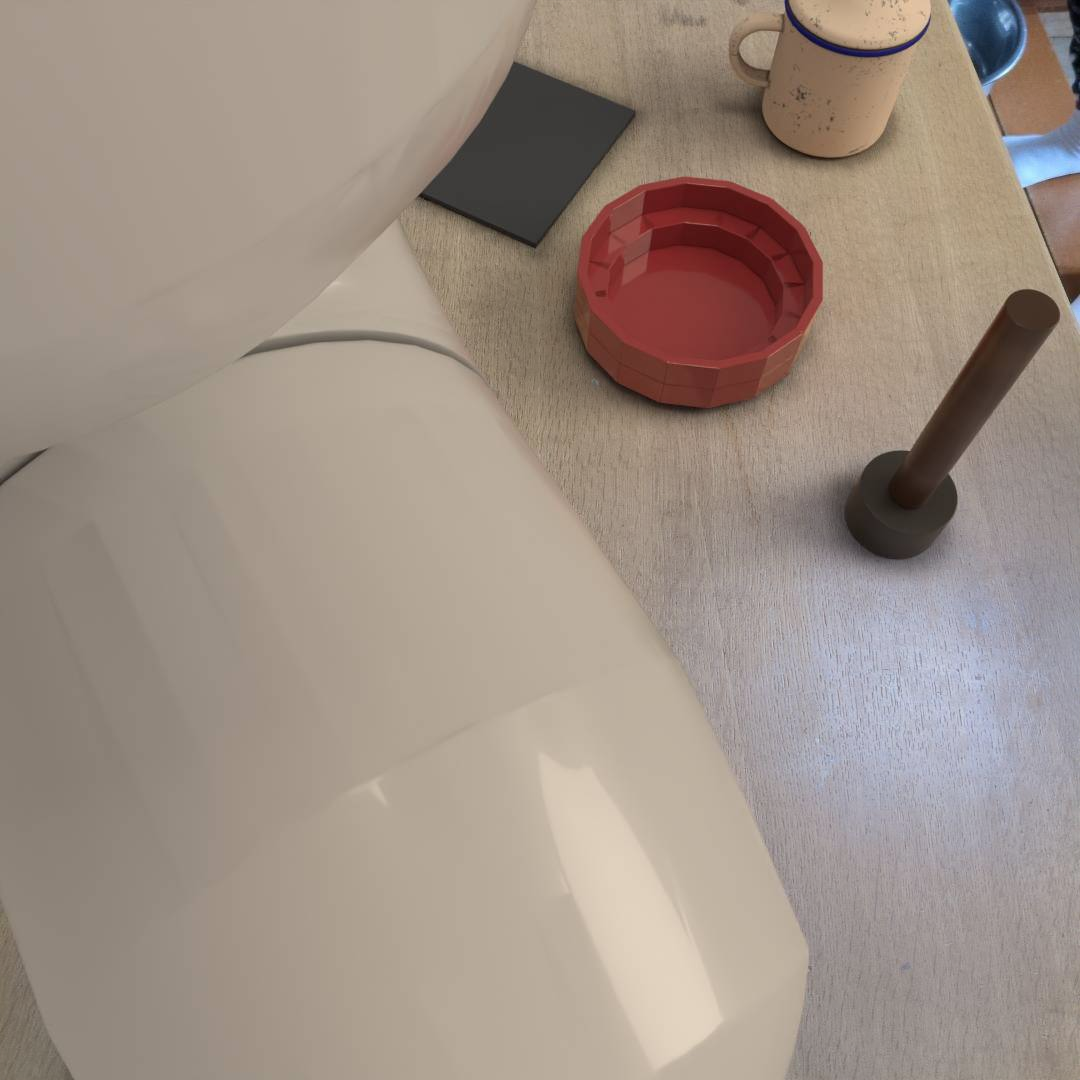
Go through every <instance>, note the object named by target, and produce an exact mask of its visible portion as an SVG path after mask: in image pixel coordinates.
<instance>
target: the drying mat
mask: <svg viewBox="0 0 1080 1080" xmlns="http://www.w3.org/2000/svg"><path fill="white" fill-rule="evenodd" d="M636 113H637V112H636V110H635V109H633V108H630V107H628V106H625V105H623V104H620V103H618V102H615V101H613V100H611V99H608V98H605V97H603V96H600V95H599V94H596V93H594V92H591V91H588V90H587V89H583V88H581V87H579V86H576V85H573V84H571V83H569V82H566V81H564V80H561V79H560V78H559V79H558V78H557V77H554V76H551V75H549V74H546V73H544V72H541V71H539V70H537V69H534V68H532V67H529V66H526V65H524V64H522V63H519V62H517V61H514V62H513V64H512V66H511V68H510V71H509V73H508V75H507V77H506V79H505V81H504V82H503V84H502V86H501V87H500V89H499V91H498V92H497V94H496V96H495V97H494V99H493V101H492V102H491V104H490V106H489V107H488V109H487V111H486V113H485V114H484V116H483V118H482V119H481V121H480V122H479V124H478V125H477V126H476V128H475V129H474V130H473V132H472V133H471V134H470V136H469V137H468V138H467V140H466V141H465V142H464V144H463V145H462V146H461V148H460V149H459V150H458V152H457V153H456V154H455V155H454V157H453V158H452V159H451V161H450V162H449V163H448V164H447V165H446V166H445V167H444V168H443V170H442V171H441V172H440V173H439V174H438V175H437V176H436V177H435V178H434V179H433V180H432V181H431V182H430V183H429V184H428V186H427V187H426V188H425V189H424V190H423V191H422V192H421V193H420V194H419V195H418V197H422V198H424V199H426V200H428V201H430V202H433V203H435V204H438V205H440V206H441V207H444V208H445V209H449V210H451V211H453V212H455V213H457V214H460V215H462V216H464V217H466V218H469V219H472V221H475V222H478V223H479V224H482V225H484V226H487V227H489V228H491V229H493V230H495V231H498V232H500V233H501V234H504V235H506V236H509V237H511V238H513V239H515V240H517V241H520V242H522V243H525V244H527V245H529V246H531V247H534V248H537V247H538V246H539V244H540V243H541V241H542V240H543V239H544V238H545V236H546V235H547V233H548V232H549V231H550V229H551V228H552V227H553V225H554V224H555V223H556V222H557V220H558V219H559V218H560V216H561V215H562V213H563V212H564V211H565V209H566V208H567V207H568V205H569V204H570V203H571V202H572V200H573V199H574V198H575V196H576V195H577V194H578V192H579V191H580V190H581V188H582V187H583V185H584V184H585V183H586V182H587V180H588V179H589V178H590V176H591V175H592V174H593V172H595V170H596V168H597V167H598V165H599V164H600V163H601V162H602V160H603V159H604V158H605V156H607V154H608V152H609V151H610V150H611V148H612V147H613V145H614V144H615V143H616V141H617V140H618V139H619V138H620V137H621V135H622V133H623V132H625V130H626V129H627V127H628V125H629V124H630V123H631V122H632V121H633V119H634V118H635V117H636Z"/></svg>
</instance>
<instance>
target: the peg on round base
mask: <svg viewBox="0 0 1080 1080" xmlns="http://www.w3.org/2000/svg"><path fill="white" fill-rule="evenodd" d="M1060 320H1061V310H1060V308H1059V305H1058V304H1057V303H1056V300H1054V299H1053V298H1052V297H1050V296H1049V295H1048V294H1047V293H1045V292H1043V291H1040V290H1036V289H1032V288H1022V289H1019V290H1015V291H1014V292H1012V293H1010V294H1009V295H1008V297H1006V300H1005V301H1004V303H1003V304H1002V305H1001V307H1000V309H999V310H998V311H997V314H996V315H995V316H994V318H993V319H992V321H991V323H990V324H989V326H988V328H987V329H986V331H985V333H984V334H983V335H982V337H981V338H980V340H979V342H978V343H977V345H976V347H975V348H974V350H973V351H972V353H971V354H970V355H969V358H968V359H967V361H966V362H965V364H964V365H963V367H962V369H961V370H960V371H959V373H958V374H957V376H956V378H955V379H954V381H953V382H952V384H951V386H950V387H949V389H948V390H947V392H946V393H945V395H944V397H943V398H942V399H941V401H940V402H939V404H938V406H937V408H936V410H934V412H933V414H932V415H931V417H930V419H929V420H928V421H927V423H926V425H925V426H924V428H923V430H922V431H921V432H920V433H919V436H918V437H917V438H916V440H915V442H914V443H913V445H912V447H911V448H910V450H905V449H900V450H899V449H898V450H890V451H887V452H882V453H881V454H879V455H877V456H875V457H874V458H872V459H871V460H870V461H869V462H868V464H867V465H866V466H865V467H864V469H863V471H862V473H861V474H860V475H859V477H858V479H857V481H856V483H855V485H854V486H853V488H852V489H851V491H850V493H849V495H848V497H847V499H846V502H845V505H844V507H845V509H844V514H845V515H844V516H845V521H846V524H847V527H848V529H849V531H850V533H851V534H852V536H853V537H854V538H855V539H856V540H857V542H858V543H859V544H860V545H861V546H863V547H864V548H865V549H867V550H868V551H870V552H871V553H874V554H876V555H878V556H881V557H884V558H887V559H897V560H901V559H903V560H904V559H909V558H913V557H917V556H918V555H920V554H922V553H924V552H925V551H927V550H928V549H929V548H930V547H931V546H932V545H933V543H934V542H935V540H937V538H938V537H939V536H940V535H941V533H942V532H943V531H944V529H946V527H947V526H948V524H949V523H950V522H951V521H952V519H953V518H954V516H955V515H956V512H957V510H958V509H957V508H958V503H959V502H958V501H959V497H958V490H957V487H956V484H955V482H954V479H953V478H952V477H951V475H950V472H951V471H952V469H953V468H954V467H955V465H956V464H957V462H958V461H959V460H960V459H961V457H962V456H963V454H964V453H965V452H966V450H967V449H968V447H970V445H971V444H972V442H973V441H974V439H975V438H976V436H977V435H978V434H979V433H980V431H981V430H982V428H983V427H984V426H985V425H986V423H987V422H988V420H989V419H990V417H991V416H992V415H993V413H994V412H995V410H997V408H998V406H999V405H1000V404H1001V403H1002V401H1003V399H1005V398H1006V396H1007V394H1008V393H1009V392H1010V391H1011V389H1012V388H1013V386H1014V385H1015V383H1016V382H1017V381H1018V379H1019V378H1020V376H1021V375H1022V374H1023V372H1024V371H1025V370H1026V368H1027V367H1028V365H1029V364H1030V363H1031V361H1032V360H1033V359H1034V357H1035V356H1036V354H1037V353H1038V352H1039V351H1040V349H1041V347H1042V346H1043V344H1044V343H1046V341H1047V340H1048V338H1049V337H1050V336H1051V334H1052V333H1053V331H1054V330H1055V328H1056V327H1057V326H1058V325H1059V323H1060Z"/></svg>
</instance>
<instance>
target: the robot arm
mask: <svg viewBox="0 0 1080 1080" xmlns="http://www.w3.org/2000/svg"><path fill="white" fill-rule="evenodd" d="M537 2H538V0H0V901H1V905H2V908H3V910H4V913H5V915H6V919H7V921H8V925H9V927H10V930H11V932H12V936H13V938H14V941H15V944H16V948H17V950H18V954H19V956H20V959H21V962H22V965H23V968H24V970H25V973H26V976H27V979H28V982H29V984H30V988H31V990H32V992H33V996H34V999H35V1002H36V1004H37V1007H38V1011H39V1013H40V1016H41V1018H42V1021H43V1025H44V1027H45V1030H46V1033H47V1034H48V1036H49V1038H50V1041H52V1043H53V1045H54V1047H55V1048H56V1050H57V1052H58V1053H59V1054H58V1055H60V1058H61V1060H62V1061H63V1063H64V1064H65V1067H66V1068H67V1070H68V1071H69V1073H70V1074H71V1077H72V1078H73V1080H785V1078H786V1076H787V1073H788V1070H789V1067H790V1064H791V1061H792V1059H793V1056H794V1052H795V1048H796V1043H797V1038H798V1034H799V1029H800V1026H801V1020H802V1015H803V1011H804V1006H805V999H806V990H807V981H808V973H809V972H808V971H809V964H810V948H809V946H808V943H807V940H806V938H805V936H804V933H803V931H802V929H801V926H800V924H799V921H798V919H797V917H796V915H795V912H794V909H793V907H792V905H791V903H790V900H789V897H788V895H787V892H786V890H785V889H784V886H783V884H782V881H781V878H780V876H779V873H778V871H777V869H776V867H775V865H774V863H773V860H772V857H771V854H770V853H769V850H768V848H767V846H766V844H765V841H764V838H763V836H762V834H761V831H760V829H759V826H758V824H757V822H756V819H755V817H754V814H753V813H752V810H751V807H750V805H749V803H748V800H747V798H746V796H745V793H744V791H743V789H742V787H741V785H740V783H739V781H738V778H737V776H736V774H735V772H734V770H733V767H732V765H731V764H730V761H729V759H728V755H726V752H725V750H724V748H723V745H722V744H721V741H720V739H719V737H718V735H717V732H716V731H715V729H714V726H713V724H712V722H711V720H710V718H709V715H708V714H707V712H706V710H705V708H704V706H703V704H702V702H701V700H700V697H699V696H698V694H697V692H696V689H695V687H694V685H693V683H692V681H691V679H690V677H689V675H688V673H687V671H686V669H685V667H684V665H683V663H682V661H681V660H680V658H679V657H678V655H677V654H676V652H675V651H674V650H673V648H672V647H671V645H670V644H669V642H668V641H667V640H666V638H665V637H664V635H663V634H662V632H661V631H660V629H659V628H658V626H657V625H656V624H655V623H654V621H653V620H652V618H651V617H650V615H649V613H648V612H647V611H646V609H645V608H644V607H643V605H642V604H641V602H640V601H639V600H638V598H637V597H636V595H635V594H634V592H633V591H632V590H631V588H630V587H629V585H628V584H627V582H626V581H625V579H624V578H623V577H622V575H621V574H620V572H619V571H618V570H617V568H616V566H615V565H614V563H613V562H612V560H610V558H609V557H608V555H607V554H606V552H605V551H604V550H603V548H602V547H601V545H600V544H599V542H598V540H596V538H595V536H594V535H593V534H592V532H591V531H590V529H589V528H588V526H587V525H586V524H585V522H584V521H583V519H582V518H581V517H580V515H579V514H578V512H577V511H576V509H575V508H574V506H573V505H572V503H571V501H569V498H567V496H566V495H565V494H564V492H563V491H562V489H561V488H560V486H559V484H557V482H556V480H555V479H554V478H553V476H552V474H551V473H550V472H549V470H548V469H547V468H546V466H545V465H544V463H543V462H542V461H541V459H540V457H539V456H538V455H537V453H536V452H535V450H534V449H533V447H532V446H531V445H530V443H529V442H528V440H527V438H526V437H525V436H524V434H523V433H522V432H521V430H520V429H519V427H518V426H517V424H516V423H515V422H514V420H513V419H512V417H511V416H510V415H509V413H508V412H507V410H506V408H505V407H504V406H503V404H502V403H501V401H500V400H499V399H498V397H497V396H496V394H495V391H494V389H493V388H492V386H491V384H490V382H488V379H487V378H486V377H485V375H484V374H483V372H482V371H481V369H480V368H479V365H477V363H476V361H475V360H474V359H473V357H472V356H471V355H470V353H469V351H468V349H467V348H466V346H465V344H464V342H463V340H462V339H461V337H460V336H459V334H458V333H457V331H456V329H455V326H453V324H452V322H451V320H450V318H449V316H448V314H447V312H446V310H445V309H444V307H443V305H442V303H441V301H440V299H439V297H438V295H437V294H436V292H435V290H434V287H433V286H432V283H431V282H430V280H429V278H428V276H427V274H426V272H425V270H424V268H423V266H422V264H421V262H420V261H419V258H418V257H417V255H416V252H415V250H414V248H413V246H412V244H411V242H410V239H409V238H408V234H407V232H406V230H405V228H404V225H403V222H402V220H401V218H400V216H401V214H402V213H404V211H405V210H407V209H408V207H409V206H410V205H411V204H412V203H413V202H414V201H415V200H416V199H417V197H419V194H420V193H421V192H422V191H423V190H424V189H425V188H426V187H427V186H428V184H429V183H430V182H431V181H432V180H433V179H434V178H435V177H436V176H437V175H438V174H439V173H440V172H441V171H442V170H443V168H444V167H445V166H446V165H447V164H448V163H449V162H450V161H451V159H452V158H453V157H454V155H455V154H456V153H457V152H458V150H459V149H460V148H461V146H462V145H463V144H464V142H465V141H466V140H467V138H468V137H469V136H470V134H471V133H472V132H473V130H474V129H475V128H476V126H477V125H478V124H479V122H480V121H481V119H482V118H483V116H484V114H485V113H486V111H487V109H488V107H489V106H490V104H491V102H492V101H493V99H494V97H495V96H496V94H497V92H498V91H499V89H500V87H501V86H502V84H503V82H504V81H505V79H506V77H507V75H508V73H509V71H510V68H511V66H512V64H513V62H515V59H516V57H517V55H518V53H519V50H520V48H521V46H522V43H523V42H524V39H525V37H526V35H527V33H528V30H529V28H530V25H531V22H532V19H533V15H534V12H535V8H536V6H537Z"/></svg>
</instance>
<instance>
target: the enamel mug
mask: <svg viewBox="0 0 1080 1080" xmlns="http://www.w3.org/2000/svg"><path fill="white" fill-rule="evenodd" d="M931 18H932V3H931V0H784V13H779V12H778V13H777V12H758V13H753V14H750V15H748V16H746V17H745V18H743V19H741V20H740V21H739V22H738V23H736V25H735V26H734V28H732V31H731V33H730V36H729V39H728V40H729V41H728V59H729V64H730V66H731V67H732V70H733V72H734V74H735V75H736V76H737V77H738V78H739V79H740V80H742V81H743V82H744V83H747V84H749V85H751V86H757V87H762V88H765V90H764V93H763V98H762V103H761V104H762V105H761V108H762V114H763V115H762V116H763V118H764V121H765V123H766V125H767V127H768V128H769V130H770V131H771V133H772V134H773V135H774V136H775V137H776V138H777V139H779V141H781V142H782V143H783V144H785V145H786V146H787V147H790V148H792V149H793V150H795V151H798V152H800V153H803V154H806V155H810V156H812V157H819V158H843V157H844V158H845V157H849V156H853V155H856V154H858V153H861V152H863V151H865V150H867V149H868V148H870V147H871V146H873V145H874V144H875V143H876V142H877V141H878V140H879V139H880V137H881V136H882V134H883V133H884V131H885V128H886V126H887V124H888V122H889V119H890V116H891V113H892V111H893V108H894V106H895V104H896V101H897V98H898V95H899V93H900V90H901V88H902V85H903V82H904V80H905V78H906V74H907V72H908V69H909V67H910V64H911V62H912V60H913V57H914V55H915V51H916V49H917V46H918V44H919V41H920V40H921V39H922V38H923V37H924V36H925V34H926V33H927V31H928V28H929V27H930V23H931ZM758 32H776V33H777V32H778V38H777V41H776V44H775V49H774V54H773V58H772V61H771V65H770V69H763V68H759V67H755V66H752V65H750V64H748V63H747V62H746V61H745V60H744V57H742V54H741V52H740V46H741V44H742V42H743V41H744V39H745V38H747V37H748V36H750V35H751V34H754V33H758Z"/></svg>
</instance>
